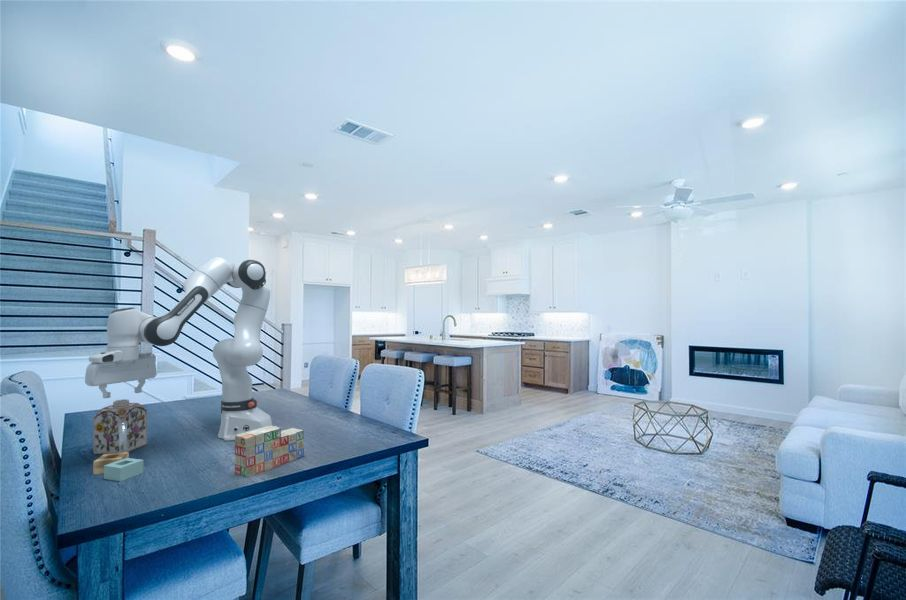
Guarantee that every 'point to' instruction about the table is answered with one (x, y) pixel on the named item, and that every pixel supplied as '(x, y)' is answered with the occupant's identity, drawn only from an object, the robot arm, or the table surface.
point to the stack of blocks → (266, 449)
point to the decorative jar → (109, 427)
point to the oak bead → (107, 461)
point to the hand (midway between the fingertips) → (122, 395)
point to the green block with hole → (123, 469)
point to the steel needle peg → (122, 437)
